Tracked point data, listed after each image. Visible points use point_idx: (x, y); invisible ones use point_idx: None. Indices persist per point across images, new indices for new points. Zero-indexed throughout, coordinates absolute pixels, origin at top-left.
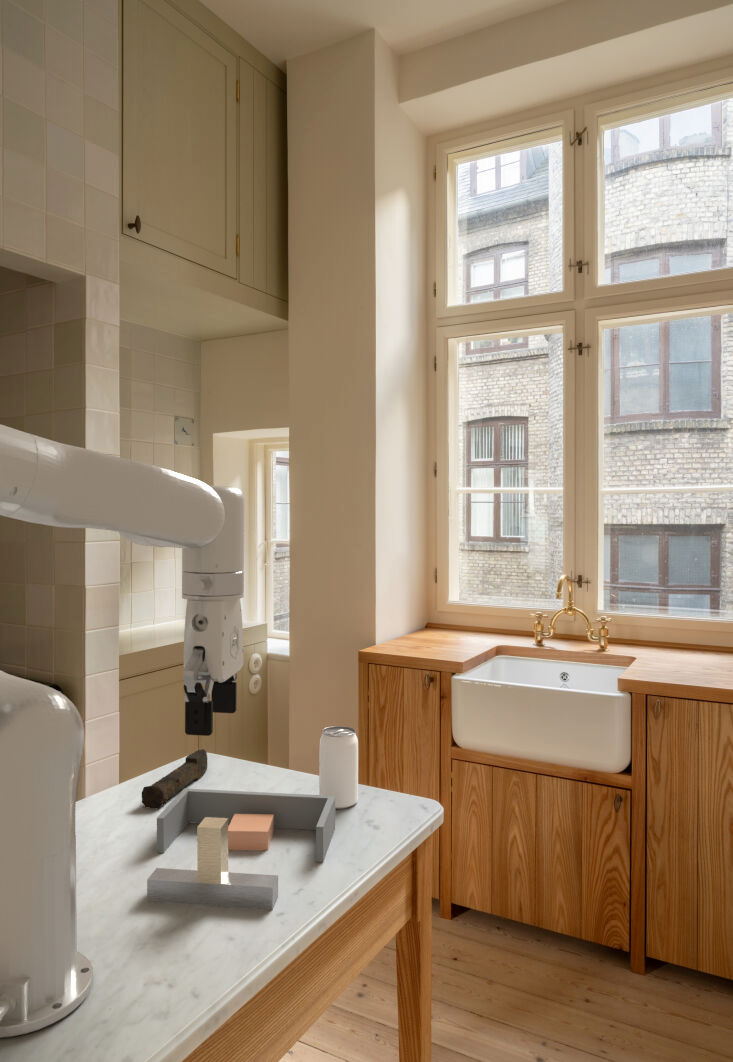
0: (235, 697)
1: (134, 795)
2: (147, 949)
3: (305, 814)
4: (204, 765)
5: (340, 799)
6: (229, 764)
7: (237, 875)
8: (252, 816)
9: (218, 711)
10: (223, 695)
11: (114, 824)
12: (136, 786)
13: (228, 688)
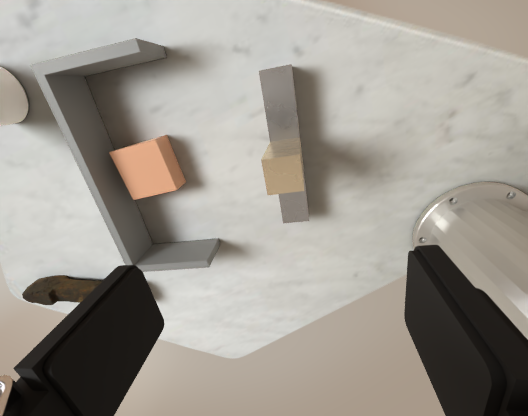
0: (93, 303)
1: None
2: (390, 168)
3: (82, 111)
4: (43, 282)
5: (7, 82)
6: (13, 263)
7: (274, 126)
8: (128, 176)
9: (157, 309)
10: (114, 348)
11: (187, 301)
12: None
13: (80, 364)
